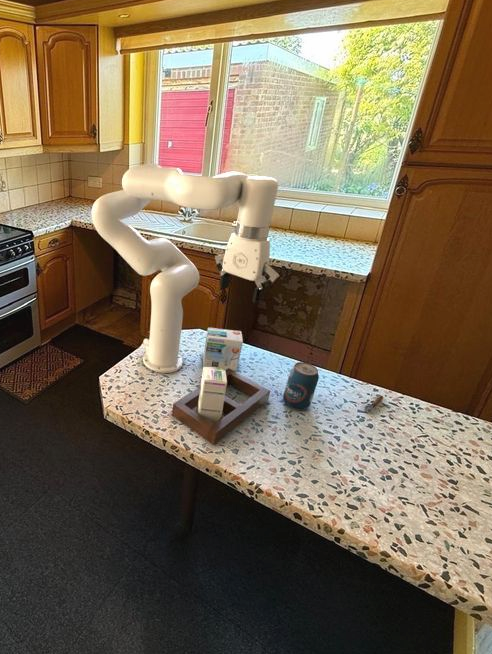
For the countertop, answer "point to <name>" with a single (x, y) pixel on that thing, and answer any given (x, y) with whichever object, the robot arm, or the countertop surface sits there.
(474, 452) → the countertop surface
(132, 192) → the robot arm
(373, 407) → the can opener
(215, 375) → the syrup box
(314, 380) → the soda can
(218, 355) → the light bulb box
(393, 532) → the countertop surface
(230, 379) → the caddy
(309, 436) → the countertop surface
